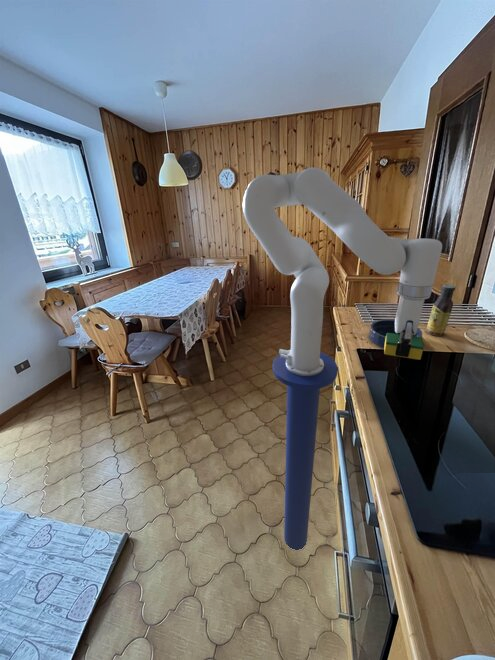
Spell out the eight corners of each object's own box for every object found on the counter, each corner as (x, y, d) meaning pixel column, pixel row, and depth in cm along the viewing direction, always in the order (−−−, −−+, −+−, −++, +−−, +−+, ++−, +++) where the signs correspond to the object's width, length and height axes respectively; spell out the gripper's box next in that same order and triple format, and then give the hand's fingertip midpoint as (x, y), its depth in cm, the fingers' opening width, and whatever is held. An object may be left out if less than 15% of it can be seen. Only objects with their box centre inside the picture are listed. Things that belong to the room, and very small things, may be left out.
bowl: (366, 347, 105) (368, 335, 103) (370, 327, 120) (371, 317, 117) (420, 356, 98) (424, 343, 96) (417, 334, 113) (420, 323, 110)
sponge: (383, 354, 80) (386, 341, 78) (384, 344, 85) (386, 332, 83) (420, 360, 76) (423, 347, 75) (418, 349, 81) (421, 337, 79)
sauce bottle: (423, 329, 116) (435, 282, 107) (440, 330, 115) (454, 282, 106) (429, 336, 110) (442, 288, 102) (446, 337, 109) (462, 288, 100)
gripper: (397, 279, 81) (387, 334, 89) (398, 299, 67) (386, 363, 75) (428, 280, 78) (414, 338, 86) (435, 302, 64) (418, 368, 72)
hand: (401, 349), depth 80 cm, fingers closed on sponge, 6 cm apart
